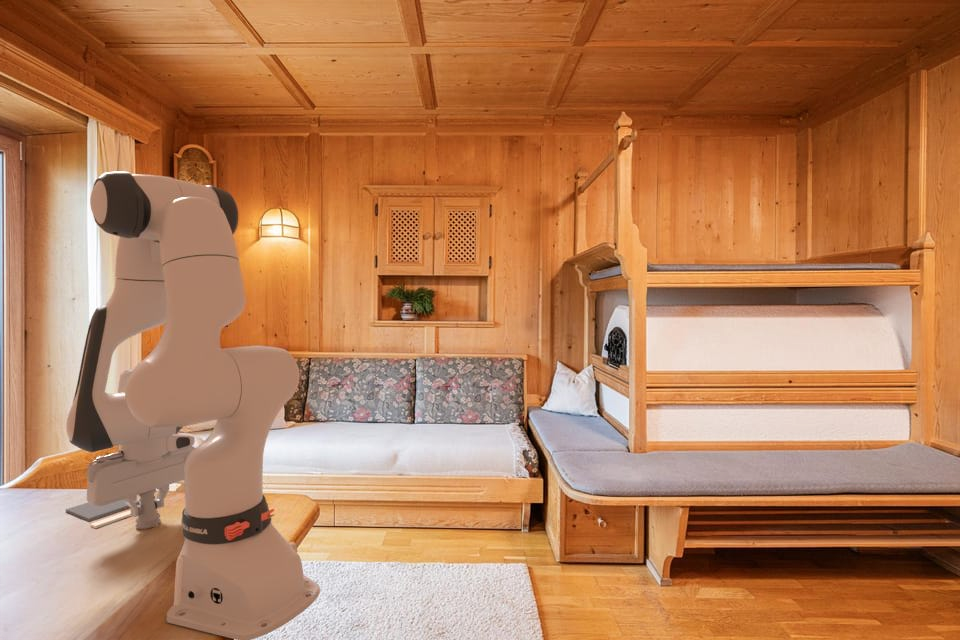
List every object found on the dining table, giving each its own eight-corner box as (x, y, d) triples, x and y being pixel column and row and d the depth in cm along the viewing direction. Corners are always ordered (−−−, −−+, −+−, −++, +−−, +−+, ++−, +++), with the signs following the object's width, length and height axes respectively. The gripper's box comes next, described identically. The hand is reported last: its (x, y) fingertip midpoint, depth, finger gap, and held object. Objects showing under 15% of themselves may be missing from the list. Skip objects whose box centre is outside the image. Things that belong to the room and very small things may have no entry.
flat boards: (156, 506, 114) (156, 504, 114) (95, 528, 103) (95, 525, 103) (120, 494, 121) (120, 492, 121) (60, 513, 110) (60, 511, 110)
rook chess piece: (148, 530, 102) (146, 492, 101) (129, 529, 103) (128, 490, 102) (166, 521, 106) (164, 483, 106) (148, 519, 107) (146, 482, 107)
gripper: (95, 462, 93) (98, 535, 94) (201, 435, 111) (203, 497, 112) (78, 457, 96) (81, 528, 97) (184, 431, 114) (186, 491, 115)
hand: (147, 511), depth 104 cm, fingers closed on rook chess piece, 3 cm apart
